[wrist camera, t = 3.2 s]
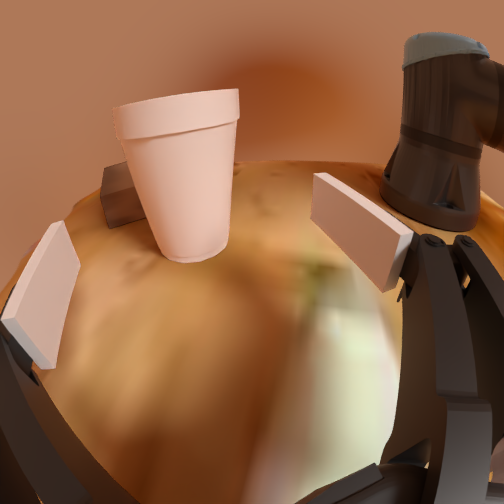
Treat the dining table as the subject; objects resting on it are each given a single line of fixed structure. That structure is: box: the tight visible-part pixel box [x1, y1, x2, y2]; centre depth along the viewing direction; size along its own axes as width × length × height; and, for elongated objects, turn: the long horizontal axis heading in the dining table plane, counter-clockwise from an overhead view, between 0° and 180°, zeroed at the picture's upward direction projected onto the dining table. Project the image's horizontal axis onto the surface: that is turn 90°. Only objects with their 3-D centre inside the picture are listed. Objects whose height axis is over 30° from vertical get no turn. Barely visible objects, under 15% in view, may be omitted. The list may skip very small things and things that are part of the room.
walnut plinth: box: [100, 162, 146, 229], centre depth 34 cm, size 14×14×4 cm
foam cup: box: [112, 89, 240, 263], centre depth 21 cm, size 10×9×13 cm
